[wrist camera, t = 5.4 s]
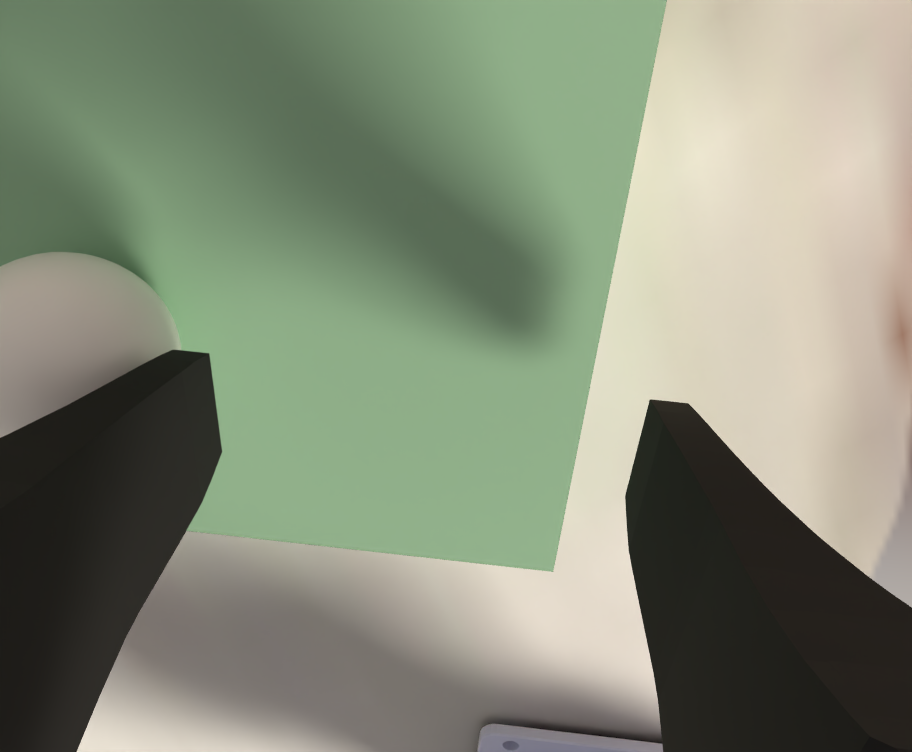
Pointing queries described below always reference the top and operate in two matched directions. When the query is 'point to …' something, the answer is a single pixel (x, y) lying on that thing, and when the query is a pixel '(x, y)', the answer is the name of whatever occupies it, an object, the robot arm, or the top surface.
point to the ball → (72, 331)
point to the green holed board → (350, 238)
